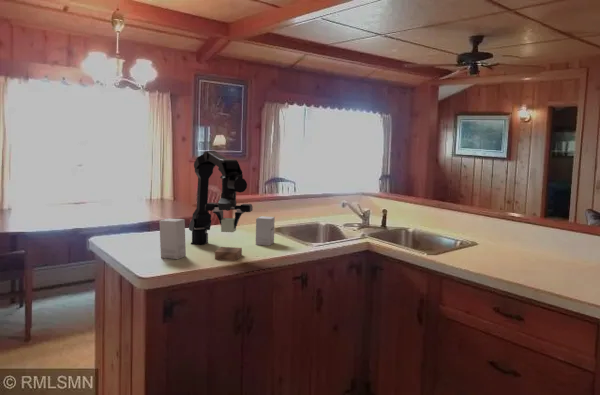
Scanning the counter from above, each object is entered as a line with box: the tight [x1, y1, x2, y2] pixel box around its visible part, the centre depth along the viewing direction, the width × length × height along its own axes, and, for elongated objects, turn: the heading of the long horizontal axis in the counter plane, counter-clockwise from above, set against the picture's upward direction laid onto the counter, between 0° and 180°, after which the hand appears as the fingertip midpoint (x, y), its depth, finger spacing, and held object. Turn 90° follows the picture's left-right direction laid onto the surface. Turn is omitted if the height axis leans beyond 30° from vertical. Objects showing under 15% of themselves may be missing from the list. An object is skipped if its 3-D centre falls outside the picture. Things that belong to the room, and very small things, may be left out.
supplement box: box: [255, 215, 275, 246], centre depth 219 cm, size 7×7×13 cm
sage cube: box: [220, 217, 237, 233], centre depth 190 cm, size 5×5×5 cm
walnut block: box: [214, 246, 243, 261], centre depth 192 cm, size 9×9×4 cm
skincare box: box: [159, 217, 187, 260], centre depth 188 cm, size 8×7×16 cm
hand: (228, 228), depth 190 cm, fingers closed on sage cube, 5 cm apart
